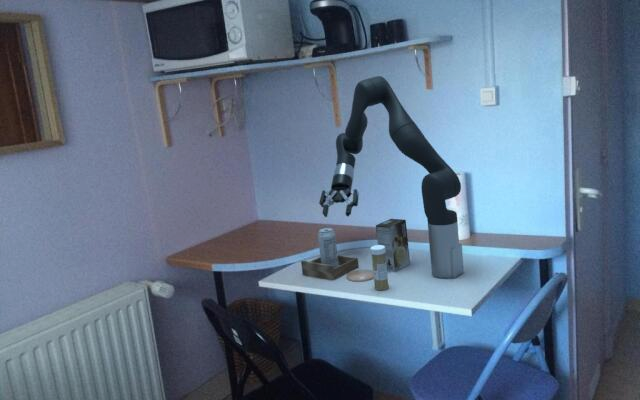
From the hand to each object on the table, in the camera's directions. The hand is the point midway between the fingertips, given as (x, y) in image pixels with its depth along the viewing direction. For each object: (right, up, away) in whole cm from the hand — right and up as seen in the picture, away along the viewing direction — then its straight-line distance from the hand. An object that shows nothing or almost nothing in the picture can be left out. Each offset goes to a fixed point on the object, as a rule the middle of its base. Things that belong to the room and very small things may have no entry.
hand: (336, 215), depth 201 cm
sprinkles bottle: (+13, -22, -28) cm, 38 cm away
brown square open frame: (-2, -19, -7) cm, 20 cm away
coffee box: (+20, -18, -11) cm, 29 cm away
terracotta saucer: (+8, -20, -16) cm, 26 cm away
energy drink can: (-2, -19, -7) cm, 21 cm away
